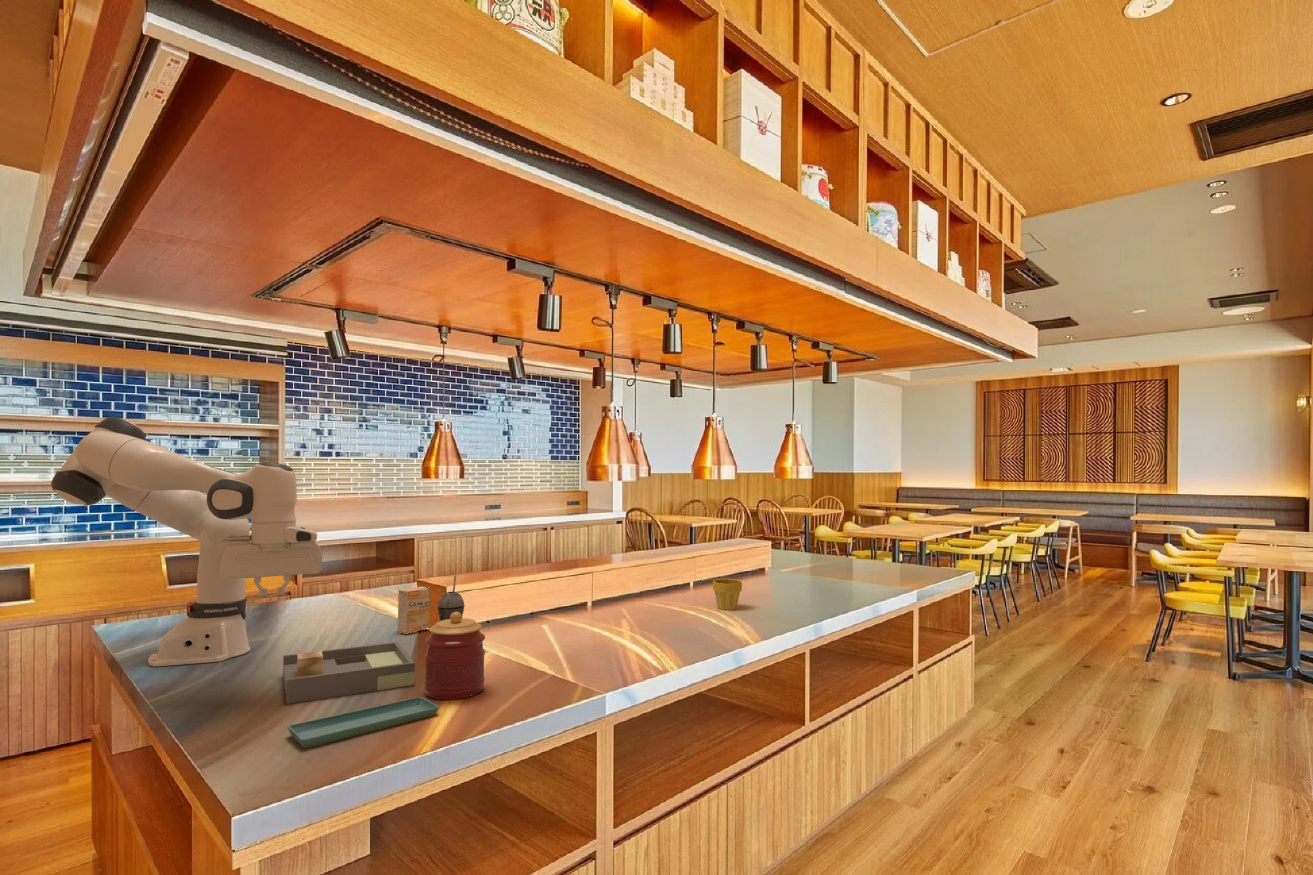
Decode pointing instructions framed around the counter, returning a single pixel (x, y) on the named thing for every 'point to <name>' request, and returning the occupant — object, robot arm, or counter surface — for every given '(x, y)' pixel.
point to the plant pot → (727, 593)
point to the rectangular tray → (360, 721)
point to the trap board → (350, 672)
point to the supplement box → (413, 609)
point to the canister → (454, 659)
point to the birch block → (309, 664)
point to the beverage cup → (450, 604)
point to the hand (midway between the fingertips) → (271, 596)
